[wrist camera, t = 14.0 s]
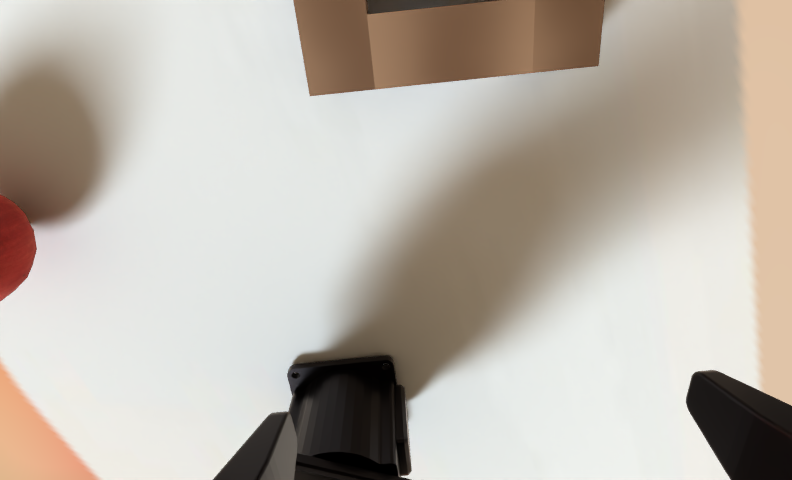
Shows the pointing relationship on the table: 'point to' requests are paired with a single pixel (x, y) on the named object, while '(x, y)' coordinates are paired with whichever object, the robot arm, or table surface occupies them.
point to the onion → (14, 247)
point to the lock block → (443, 41)
